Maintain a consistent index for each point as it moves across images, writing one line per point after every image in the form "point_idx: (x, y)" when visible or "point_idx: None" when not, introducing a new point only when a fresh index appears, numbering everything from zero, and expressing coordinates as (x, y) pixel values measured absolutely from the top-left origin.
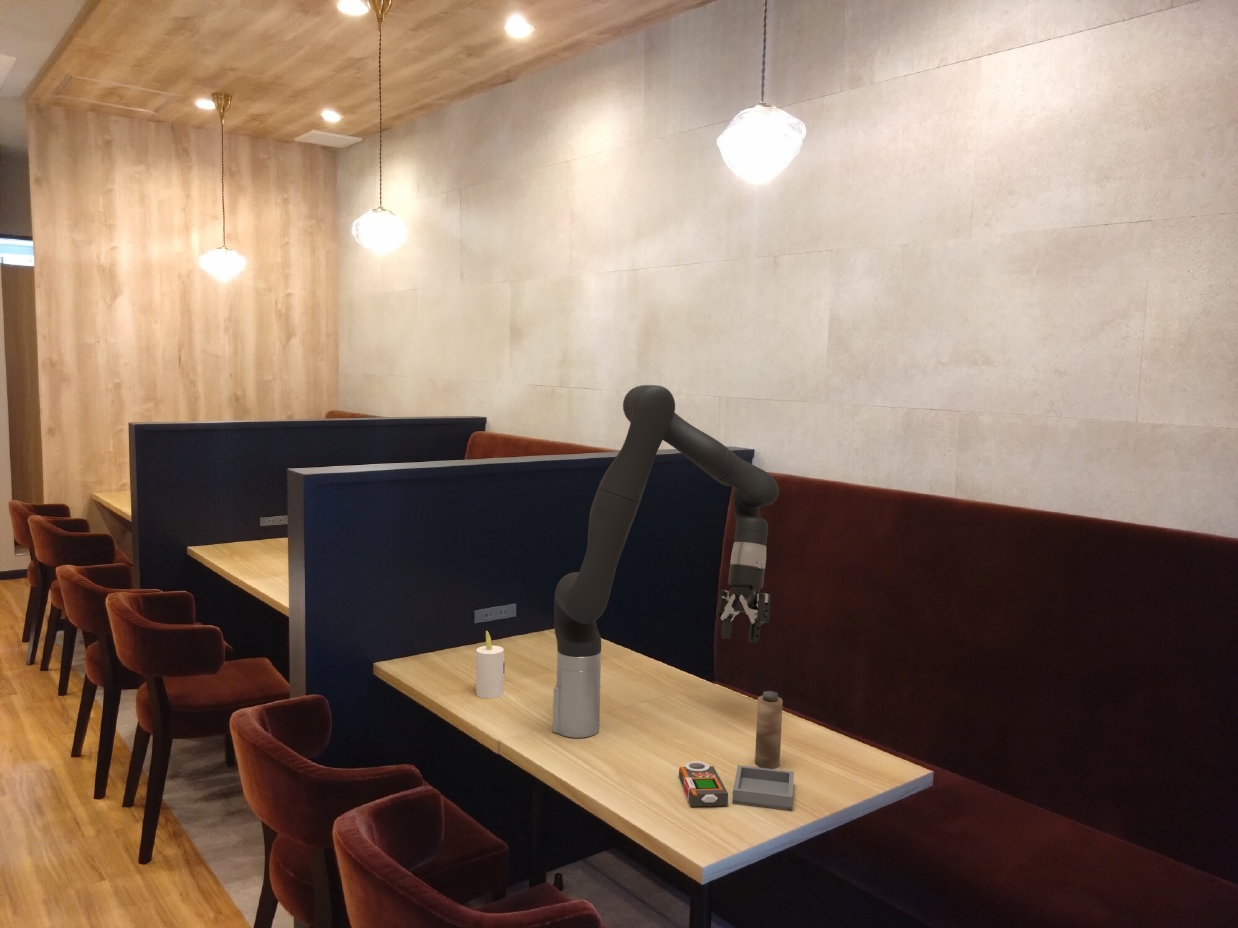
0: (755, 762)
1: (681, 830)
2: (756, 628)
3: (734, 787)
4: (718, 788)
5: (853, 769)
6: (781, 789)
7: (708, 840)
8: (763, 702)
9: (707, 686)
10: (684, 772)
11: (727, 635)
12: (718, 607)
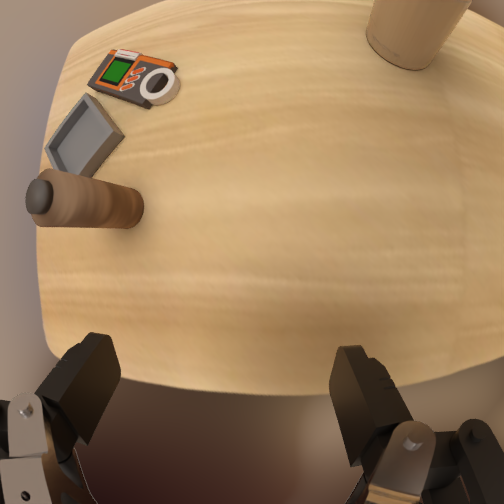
0: (134, 189)
1: (105, 38)
2: (44, 387)
3: (87, 96)
4: (99, 79)
5: (71, 300)
6: (73, 165)
7: (82, 54)
8: (44, 171)
9: (443, 370)
10: (154, 60)
11: (338, 380)
12: (496, 472)
